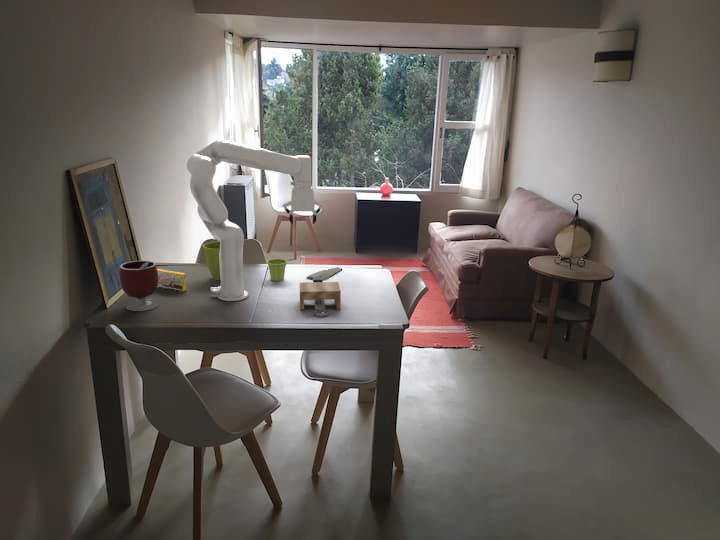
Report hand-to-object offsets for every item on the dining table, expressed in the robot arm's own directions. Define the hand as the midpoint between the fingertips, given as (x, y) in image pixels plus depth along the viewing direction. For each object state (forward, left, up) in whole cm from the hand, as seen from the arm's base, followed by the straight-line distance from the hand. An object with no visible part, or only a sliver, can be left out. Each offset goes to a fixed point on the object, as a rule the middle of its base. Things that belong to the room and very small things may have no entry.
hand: (302, 223), depth 238 cm
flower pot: (-38, +12, -28) cm, 49 cm away
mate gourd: (-64, -25, -28) cm, 74 cm away
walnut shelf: (+6, -28, -28) cm, 40 cm away
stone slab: (+11, +16, -29) cm, 35 cm away
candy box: (-58, -3, -29) cm, 65 cm away
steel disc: (+6, -39, -29) cm, 49 cm away
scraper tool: (+6, -22, -28) cm, 36 cm away
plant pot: (-12, +9, -28) cm, 32 cm away
